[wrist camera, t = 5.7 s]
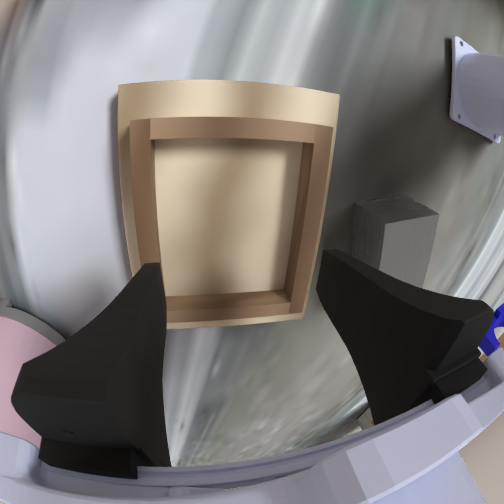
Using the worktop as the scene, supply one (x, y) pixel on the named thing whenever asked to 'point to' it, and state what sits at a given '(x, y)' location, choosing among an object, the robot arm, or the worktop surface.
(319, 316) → the worktop surface
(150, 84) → the tray
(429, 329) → the robot arm
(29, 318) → the blender
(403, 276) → the block
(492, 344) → the cable clip
